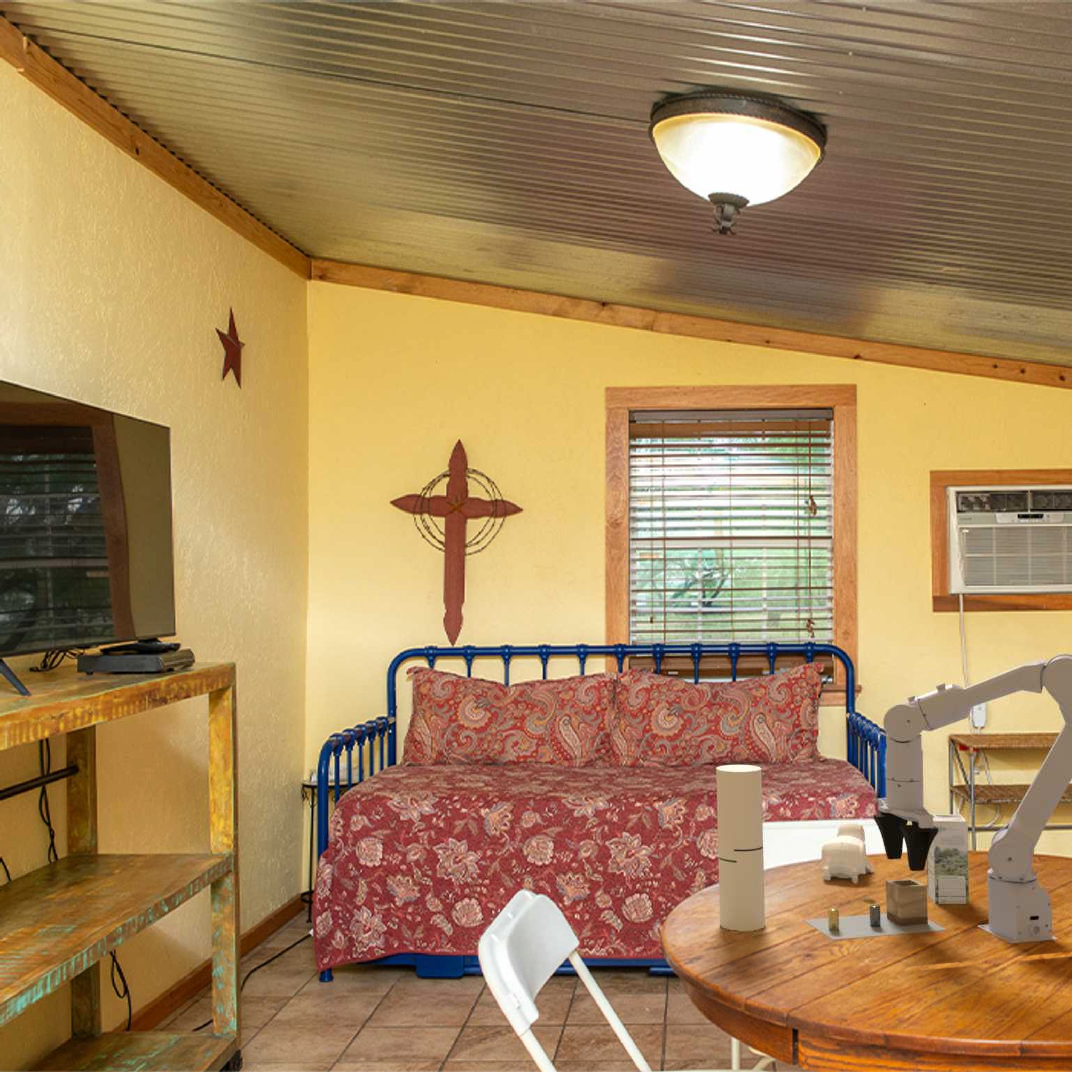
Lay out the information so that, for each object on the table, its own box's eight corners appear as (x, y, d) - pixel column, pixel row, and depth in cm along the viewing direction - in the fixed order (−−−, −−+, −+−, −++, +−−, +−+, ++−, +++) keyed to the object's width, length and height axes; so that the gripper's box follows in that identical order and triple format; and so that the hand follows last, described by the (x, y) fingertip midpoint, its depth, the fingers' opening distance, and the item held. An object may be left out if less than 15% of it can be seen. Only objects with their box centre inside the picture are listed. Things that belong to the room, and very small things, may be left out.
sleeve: (927, 923, 194) (926, 885, 194) (901, 926, 193) (899, 887, 193) (913, 916, 198) (912, 878, 199) (886, 918, 197) (885, 880, 198)
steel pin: (882, 930, 193) (881, 907, 193) (873, 931, 192) (872, 908, 193) (877, 927, 194) (877, 904, 194) (868, 928, 194) (867, 905, 194)
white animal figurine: (867, 899, 222) (878, 851, 235) (862, 859, 220) (874, 813, 233) (819, 895, 226) (833, 848, 239) (814, 855, 223) (829, 810, 236)
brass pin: (841, 934, 191) (840, 910, 192) (831, 934, 191) (830, 911, 191) (836, 931, 193) (835, 908, 193) (827, 932, 193) (826, 908, 193)
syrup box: (961, 898, 211) (959, 812, 211) (970, 907, 205) (967, 819, 205) (927, 897, 211) (925, 812, 212) (935, 907, 205) (932, 819, 206)
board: (947, 933, 190) (947, 929, 190) (833, 943, 187) (833, 939, 187) (911, 914, 201) (911, 911, 201) (803, 923, 197) (803, 919, 197)
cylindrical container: (764, 932, 193) (760, 772, 194) (718, 930, 195) (715, 771, 195) (765, 919, 200) (761, 764, 201) (721, 917, 202) (717, 764, 202)
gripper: (860, 772, 203) (861, 855, 202) (902, 787, 189) (903, 877, 188) (900, 770, 204) (901, 853, 204) (945, 786, 190) (946, 874, 190)
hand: (905, 864), depth 196 cm, fingers open, 7 cm apart
